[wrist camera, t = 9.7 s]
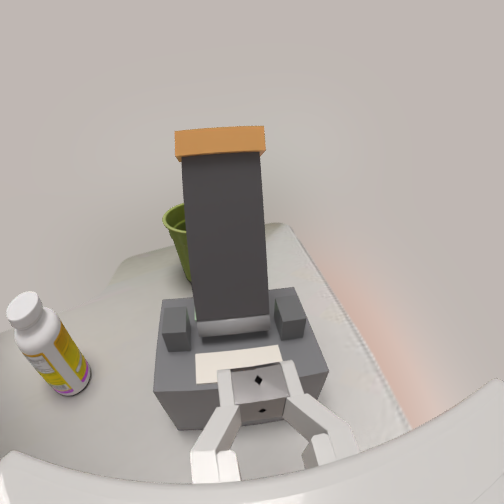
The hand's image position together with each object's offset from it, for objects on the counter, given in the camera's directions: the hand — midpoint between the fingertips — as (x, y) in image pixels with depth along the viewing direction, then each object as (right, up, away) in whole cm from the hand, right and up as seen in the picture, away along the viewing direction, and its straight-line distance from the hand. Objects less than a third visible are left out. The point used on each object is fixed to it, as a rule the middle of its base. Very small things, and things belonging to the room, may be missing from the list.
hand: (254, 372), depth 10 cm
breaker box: (-2, -10, +18) cm, 21 cm away
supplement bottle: (-24, -12, +16) cm, 31 cm away
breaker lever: (-2, -1, +13) cm, 13 cm away
